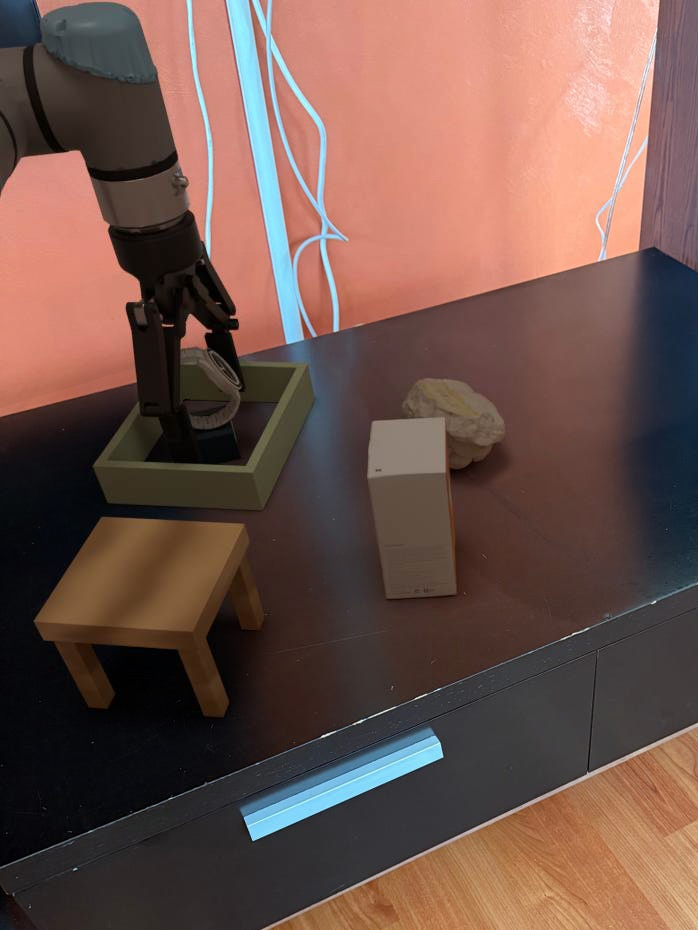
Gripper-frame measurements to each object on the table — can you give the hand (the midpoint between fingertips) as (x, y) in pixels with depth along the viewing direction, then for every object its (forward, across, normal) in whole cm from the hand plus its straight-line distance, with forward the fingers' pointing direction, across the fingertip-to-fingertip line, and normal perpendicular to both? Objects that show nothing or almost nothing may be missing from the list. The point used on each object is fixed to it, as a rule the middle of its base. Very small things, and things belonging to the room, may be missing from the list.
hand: (212, 425), depth 98 cm
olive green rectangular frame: (+3, 0, 0) cm, 3 cm away
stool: (+3, -30, -7) cm, 31 cm away
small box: (+3, -17, -25) cm, 30 cm away
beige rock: (+3, +1, -25) cm, 25 cm away
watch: (+3, 0, 0) cm, 3 cm away
